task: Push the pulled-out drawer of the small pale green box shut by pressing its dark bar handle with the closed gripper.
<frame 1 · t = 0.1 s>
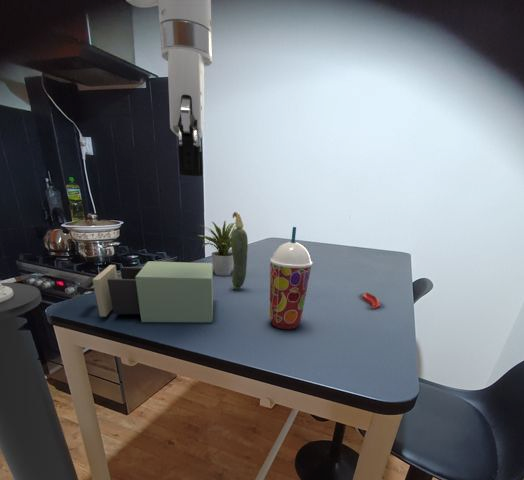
hand: (192, 175, 56), 27 cm above the table, tool pointing down, fingers open, 9 cm apart
pale green box: (180, 311, 72), on the table
house plant: (222, 272, 103), on the table
drawer: (127, 290, 69), point 5 cm above the table, slide at 7.0 cm
smoothie: (284, 324, 69), on the table
vegetable: (238, 290, 88), on the table
cayenne pepper: (370, 302, 86), on the table
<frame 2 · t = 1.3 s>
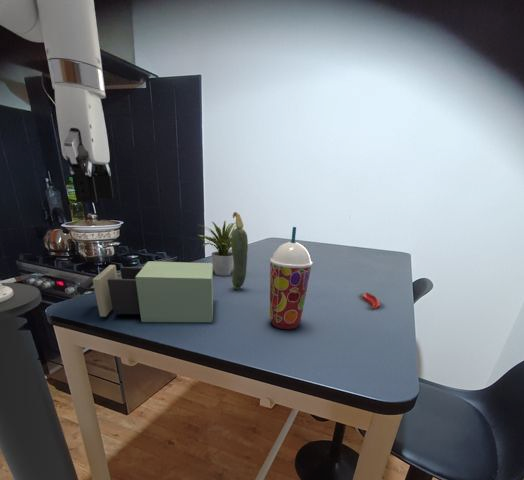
hand: (96, 200, 59), 22 cm above the table, tool pointing down, fingers open, 9 cm apart
nothing on the table moved.
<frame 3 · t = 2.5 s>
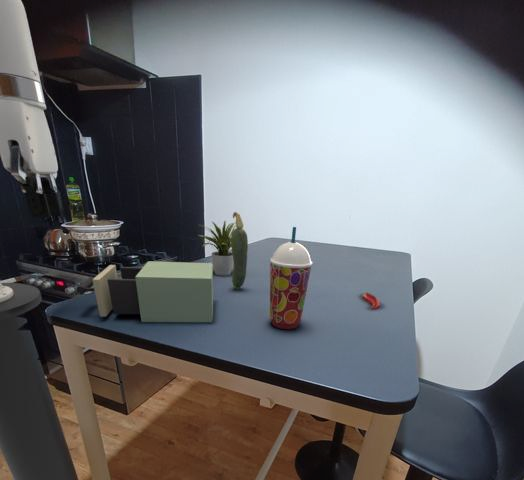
hand: (46, 215, 60), 19 cm above the table, tool pointing down, fingers open, 3 cm apart
nothing on the table moved.
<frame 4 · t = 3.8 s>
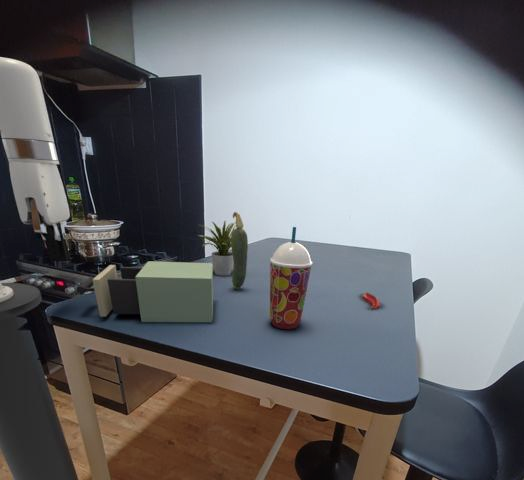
hand: (60, 260, 64), 11 cm above the table, tool pointing down, fingers closed
nothing on the table moved.
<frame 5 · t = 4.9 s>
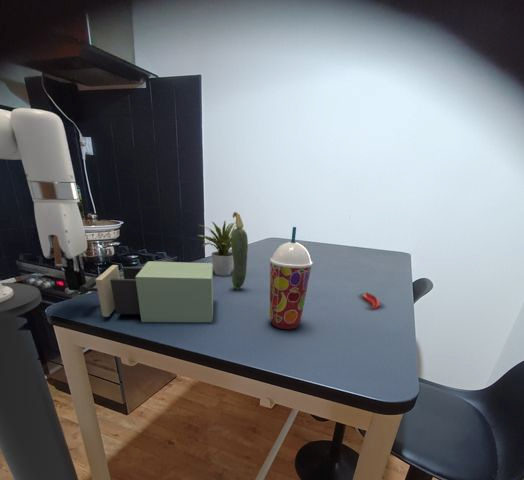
hand: (78, 289, 67), 5 cm above the table, tool pointing down, fingers closed
drawer: (130, 290, 69), point 5 cm above the table, slide at 6.5 cm, touching gripper
everything else where it was.
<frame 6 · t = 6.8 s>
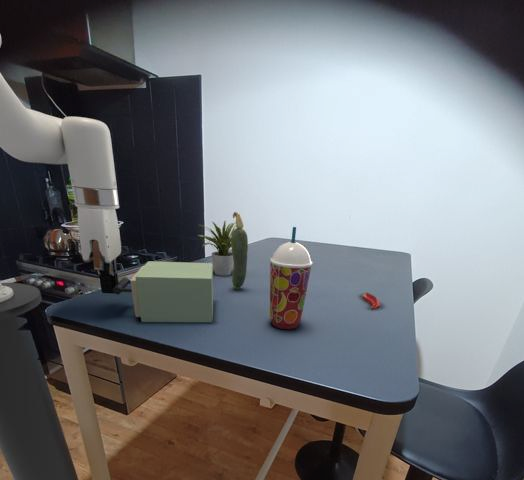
hand: (110, 291, 68), 4 cm above the table, tool pointing down, fingers closed
drawer: (160, 290, 69), point 5 cm above the table, slide at 0.0 cm, touching pale green box, gripper
everything else where it was.
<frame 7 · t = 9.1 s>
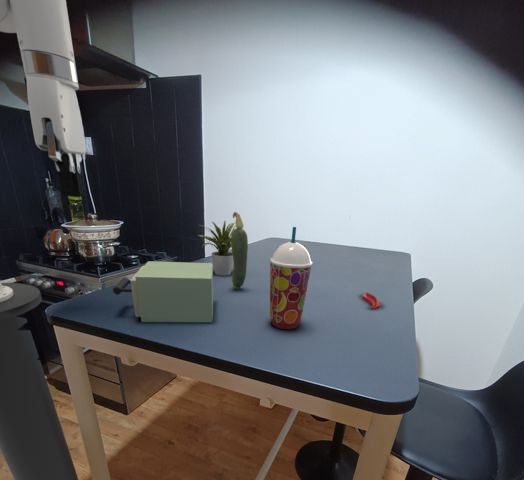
hand: (73, 196, 61), 23 cm above the table, tool pointing down, fingers closed
drawer: (160, 290, 69), point 5 cm above the table, slide at 0.0 cm, touching pale green box
everything else where it was.
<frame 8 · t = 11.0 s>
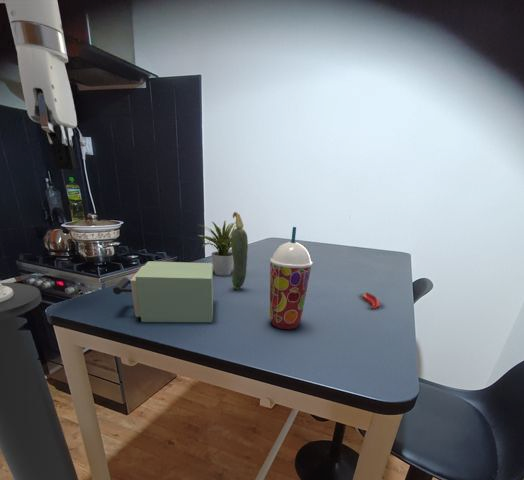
hand: (66, 169, 63), 27 cm above the table, tool pointing down, fingers closed
nothing on the table moved.
at the end: drawer slide at 0.0 cm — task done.
